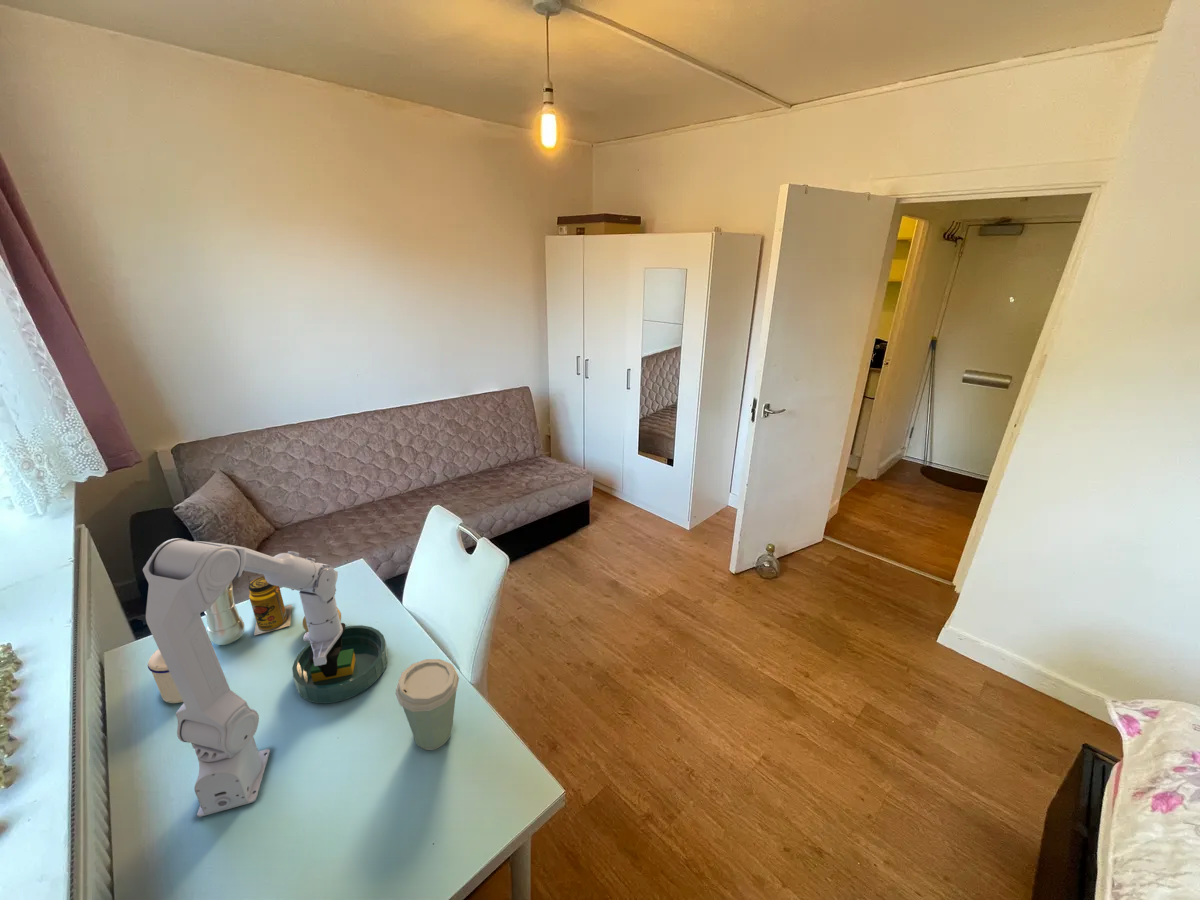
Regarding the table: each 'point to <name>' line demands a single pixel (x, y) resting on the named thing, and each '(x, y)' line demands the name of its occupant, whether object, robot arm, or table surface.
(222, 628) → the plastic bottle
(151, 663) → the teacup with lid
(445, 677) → the disposable coffee cup
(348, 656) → the sponge
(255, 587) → the condiment
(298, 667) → the bowl
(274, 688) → the table surface
